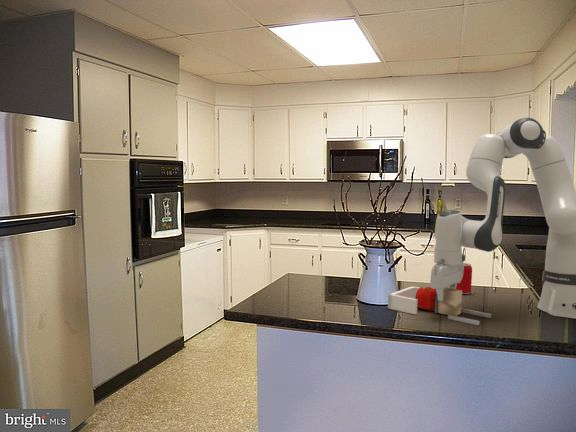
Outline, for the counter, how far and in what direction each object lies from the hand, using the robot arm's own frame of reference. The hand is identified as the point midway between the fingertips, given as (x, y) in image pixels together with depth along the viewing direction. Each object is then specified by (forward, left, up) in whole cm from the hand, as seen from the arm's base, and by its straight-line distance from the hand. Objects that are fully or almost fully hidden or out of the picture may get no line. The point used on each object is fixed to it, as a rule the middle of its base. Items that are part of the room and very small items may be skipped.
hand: (446, 297), depth 165 cm
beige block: (-1, 0, -5) cm, 6 cm away
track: (-8, 0, -5) cm, 10 cm away
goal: (+12, 0, -5) cm, 13 cm away
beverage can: (+7, -33, -6) cm, 34 cm away
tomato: (+7, 0, -6) cm, 9 cm away
